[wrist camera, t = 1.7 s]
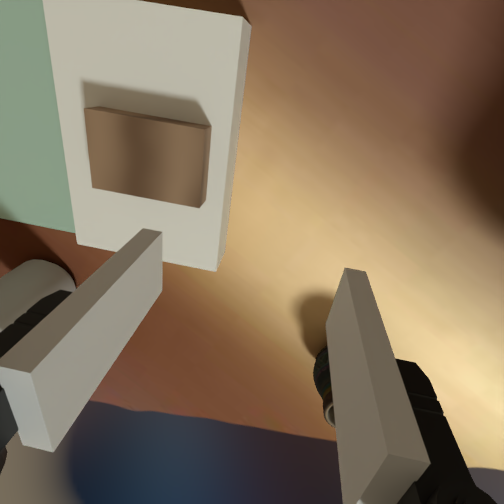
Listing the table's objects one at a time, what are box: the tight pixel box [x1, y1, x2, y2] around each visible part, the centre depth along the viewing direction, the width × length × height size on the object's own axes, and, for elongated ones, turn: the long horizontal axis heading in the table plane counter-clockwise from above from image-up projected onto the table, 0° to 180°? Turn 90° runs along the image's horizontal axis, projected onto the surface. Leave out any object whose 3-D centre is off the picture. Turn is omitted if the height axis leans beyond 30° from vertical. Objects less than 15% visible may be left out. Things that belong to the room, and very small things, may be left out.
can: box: [0, 259, 76, 332], centre depth 34 cm, size 8×8×12 cm
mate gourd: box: [313, 346, 336, 428], centre depth 34 cm, size 7×8×10 cm
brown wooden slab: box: [84, 106, 212, 208], centre depth 25 cm, size 9×6×2 cm, turn 82°
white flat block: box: [42, 0, 252, 272], centre depth 28 cm, size 14×20×4 cm
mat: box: [0, 0, 76, 233], centre depth 30 cm, size 12×22×1 cm, turn 172°
